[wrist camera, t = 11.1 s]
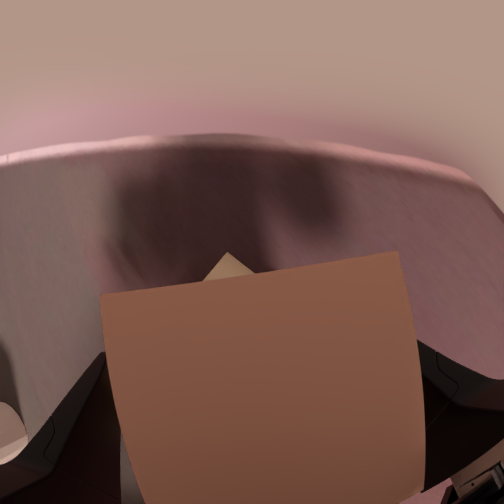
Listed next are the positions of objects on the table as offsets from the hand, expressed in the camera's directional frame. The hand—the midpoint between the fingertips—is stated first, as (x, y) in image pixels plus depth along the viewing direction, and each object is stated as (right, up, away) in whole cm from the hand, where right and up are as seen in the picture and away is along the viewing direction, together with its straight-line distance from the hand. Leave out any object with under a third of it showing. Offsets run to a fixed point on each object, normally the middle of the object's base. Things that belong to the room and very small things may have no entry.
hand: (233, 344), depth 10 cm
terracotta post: (0, -4, +8) cm, 9 cm away
